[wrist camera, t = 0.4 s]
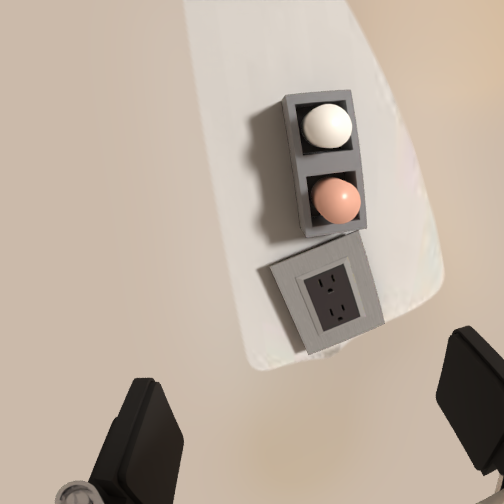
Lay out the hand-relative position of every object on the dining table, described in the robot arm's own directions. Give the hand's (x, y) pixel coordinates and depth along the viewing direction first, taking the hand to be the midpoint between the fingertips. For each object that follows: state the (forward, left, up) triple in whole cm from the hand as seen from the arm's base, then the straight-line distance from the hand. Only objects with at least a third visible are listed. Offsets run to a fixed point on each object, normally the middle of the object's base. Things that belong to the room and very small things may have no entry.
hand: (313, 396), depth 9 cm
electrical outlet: (+11, +6, -28) cm, 31 cm away
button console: (-5, +6, -27) cm, 28 cm away
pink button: (-1, +7, -25) cm, 26 cm away
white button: (-8, +6, -25) cm, 27 cm away
